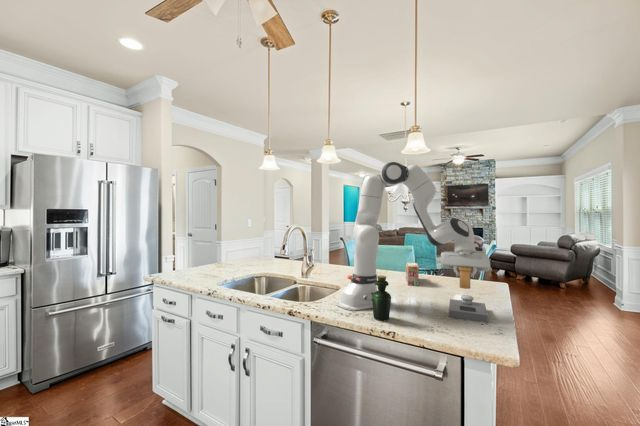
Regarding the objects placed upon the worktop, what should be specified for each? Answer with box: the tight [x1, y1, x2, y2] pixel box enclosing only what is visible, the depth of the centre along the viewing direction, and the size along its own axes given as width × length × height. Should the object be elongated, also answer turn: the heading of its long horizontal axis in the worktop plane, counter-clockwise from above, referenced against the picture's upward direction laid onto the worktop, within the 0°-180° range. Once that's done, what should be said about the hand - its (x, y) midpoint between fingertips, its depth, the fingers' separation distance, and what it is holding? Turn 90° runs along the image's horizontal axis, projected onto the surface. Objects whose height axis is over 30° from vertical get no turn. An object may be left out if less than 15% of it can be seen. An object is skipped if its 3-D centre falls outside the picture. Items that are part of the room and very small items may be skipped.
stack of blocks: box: [405, 262, 420, 287], centre depth 196 cm, size 21×6×12 cm, turn 168°
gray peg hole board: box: [448, 294, 489, 323], centre depth 138 cm, size 18×15×6 cm
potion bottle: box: [372, 275, 392, 322], centre depth 130 cm, size 8×8×18 cm
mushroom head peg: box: [459, 266, 473, 290], centre depth 136 cm, size 5×5×9 cm
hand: (465, 276), depth 135 cm, fingers closed on mushroom head peg, 4 cm apart
